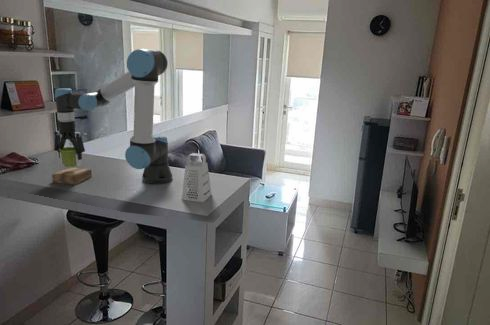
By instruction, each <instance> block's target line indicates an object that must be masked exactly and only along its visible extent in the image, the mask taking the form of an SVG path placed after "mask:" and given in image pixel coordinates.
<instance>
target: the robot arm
mask: <svg viewBox="0 0 490 325" xmlns="http://www.w3.org/2000/svg"><path fill="white" fill-rule="evenodd" d="M126 68H127V72H125V73H124V74H122V75H121V76H119V77H117V78H116V79H113V80H112V81H111V82H109V83H107V84H106V85H104V86H103V87H101V88H99V89H98V90H96V91H92V92H91V91H90V92H85V93H84V92H83V93H76V92H75V93H74V92H73V89H72V88H70V87H69V88H68V87H67V88H66V87H65V88H63V87H62V88H61V87H60V88H59V87H58V88H56V89H55V90H54V100H55V106H56V114H57V120H58V122H57V124H58V125H57V126H58V129H59V130H56V131H54V132H53V133H54V147H53V149H54V151H56V152H58V158H59V160H60V165H61V166H64V162H63V158H62V154H61V152H60V151H59V149H63V148H65V146H66V142H67V140H69V141H70V142H71V144H72V147H74V148H75V150H76V152H77V153H76V164H77V166H76V168H79V167H80V166H82V160H83V158H82V157H83V156H82V154H83V153H85V152H86V149H85V146H84V142H83V138H82V132H81V131H80V132H77V131H76V121H75V119H76V118H75V110H83V111H93V110H95V108H100V107H105V106H107V105H109V104H110V103H111V101H113V100H115V99H116V98H118V97H119V96H122V95H123V94H125V93H127V92H129V91H130V90H133V89H134V98H133V99H134V103H133V136H132V137H130V139H129V146H128V148H126V150H125V154H124V158H125V160H126V162H127V164H129V166H130V167H131V168H133V169H136V170H143V172H142V175H141V176H142V177H141V178H142V182H144V183H146V184H151V185H152V184H155V185H159V184H165V183H168V182H171V181H172V180H173V173H172V171H171V168H170V166H169V145H168V144H169V143H168V138H167V136H165V135H155V134H153V130H154V111H155V110H154V109H155V108H154V106H155V88H156V87H155V86H156V85H157V84H158V83H159V76H161V75H163V74H164V73H165V72H166V71H167V69H168V59H167V56H166V55H165V53H163V51H161V50H159V49H151V48H150V49H149V48H148V49H147V48H139V49H134V50H132V51H131V52H130V53H129V55H128V57H127V59H126Z"/></svg>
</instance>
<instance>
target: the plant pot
mask: <svg viewBox="0 0 490 325" xmlns="http://www.w3.org/2000/svg"><path fill="white" fill-rule="evenodd" d="M59 151H60V152H61V154H62V158H63V162H64V165H63V166H64V167H67V168H69V167H71V168H75V167H77V164H76V153H77V152H76V150H75V148H74V146H67V147H66V146H64V148H63V149H59Z"/></svg>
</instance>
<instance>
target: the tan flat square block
mask: <svg viewBox="0 0 490 325" xmlns="http://www.w3.org/2000/svg"><path fill="white" fill-rule="evenodd" d="M92 176H93V174H92V169H91V168H81V167H80V168H79V167H71V166H70V167H67V168H64V169H62V170H59V171H57V172H54V173H53V174H51V177H52V183H58V184H67V185H68V184H69V185H78V184H80V183H82V182H84V181H86V180H88V179H90V178H92Z"/></svg>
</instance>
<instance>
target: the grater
mask: <svg viewBox="0 0 490 325" xmlns="http://www.w3.org/2000/svg"><path fill="white" fill-rule="evenodd" d="M191 156H195V157H200V158H202V161H195V160H191V159H192V158H191ZM186 163H187V164H185V168H184V177H183V184H182V194H181V200H182V201H183V200H185V201H191V202H192V201H193V202H200V203H205V201H207V199H208V198H210V197H211V196H212V194H213V192H212V186H211V185H212V184H211V179H210V173H209V167H208V166H209V165H208V164H209V163H208V162H207V156H206V155H205V154H204V153H195V152H192V153H191V154H189V155H188V156H187V158H186Z"/></svg>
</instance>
